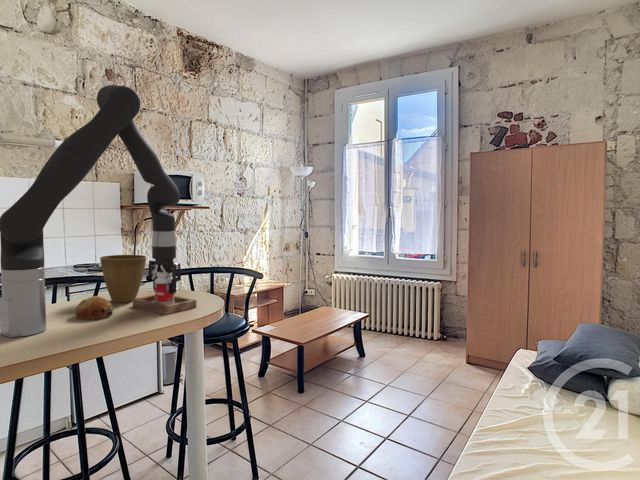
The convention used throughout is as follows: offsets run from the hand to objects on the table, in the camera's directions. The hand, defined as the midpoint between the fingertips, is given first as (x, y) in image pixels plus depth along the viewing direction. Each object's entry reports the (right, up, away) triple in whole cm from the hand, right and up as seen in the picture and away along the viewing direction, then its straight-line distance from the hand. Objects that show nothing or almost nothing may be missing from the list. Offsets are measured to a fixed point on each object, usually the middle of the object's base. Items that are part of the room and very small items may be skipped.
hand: (164, 292), depth 136 cm
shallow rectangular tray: (0, -5, 0) cm, 5 cm away
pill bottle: (0, -4, 0) cm, 4 cm away
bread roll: (-16, -6, -13) cm, 22 cm away
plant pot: (-18, -4, +8) cm, 20 cm away
